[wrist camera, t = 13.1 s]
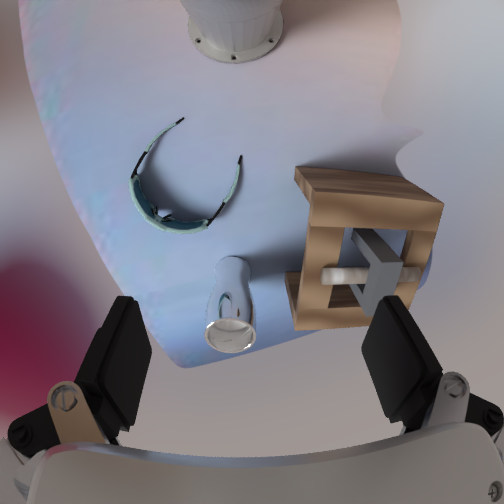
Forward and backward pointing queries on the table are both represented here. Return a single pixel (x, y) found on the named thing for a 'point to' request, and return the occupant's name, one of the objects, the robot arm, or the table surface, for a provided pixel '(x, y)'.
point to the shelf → (331, 234)
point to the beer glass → (231, 308)
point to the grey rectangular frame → (375, 269)
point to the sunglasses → (149, 210)
